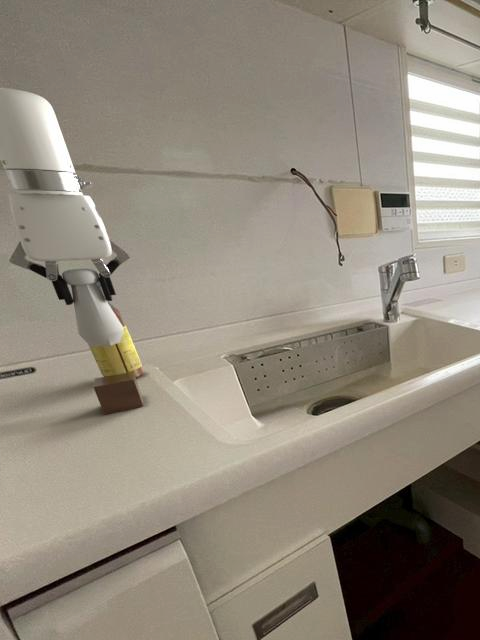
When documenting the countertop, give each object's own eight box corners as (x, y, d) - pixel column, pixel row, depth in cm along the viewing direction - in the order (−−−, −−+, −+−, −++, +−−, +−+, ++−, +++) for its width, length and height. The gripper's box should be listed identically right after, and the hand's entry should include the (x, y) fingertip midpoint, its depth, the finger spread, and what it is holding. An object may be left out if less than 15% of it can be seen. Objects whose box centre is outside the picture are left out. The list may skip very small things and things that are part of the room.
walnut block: (105, 404, 70) (94, 378, 68) (142, 397, 73) (133, 371, 71) (104, 414, 67) (93, 387, 65) (143, 406, 70) (133, 379, 68)
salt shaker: (126, 337, 76) (101, 266, 71) (129, 343, 72) (103, 269, 67) (83, 343, 72) (54, 269, 67) (84, 350, 68) (52, 272, 64)
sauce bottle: (139, 370, 86) (106, 275, 78) (149, 376, 82) (115, 278, 75) (98, 379, 81) (59, 279, 73) (107, 386, 77) (66, 282, 70)
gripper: (118, 188, 70) (151, 293, 77) (-32, 183, 60) (22, 304, 67) (118, 186, 65) (153, 298, 72) (-46, 180, 55) (13, 312, 62)
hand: (89, 300), depth 69 cm, fingers closed on salt shaker, 4 cm apart
